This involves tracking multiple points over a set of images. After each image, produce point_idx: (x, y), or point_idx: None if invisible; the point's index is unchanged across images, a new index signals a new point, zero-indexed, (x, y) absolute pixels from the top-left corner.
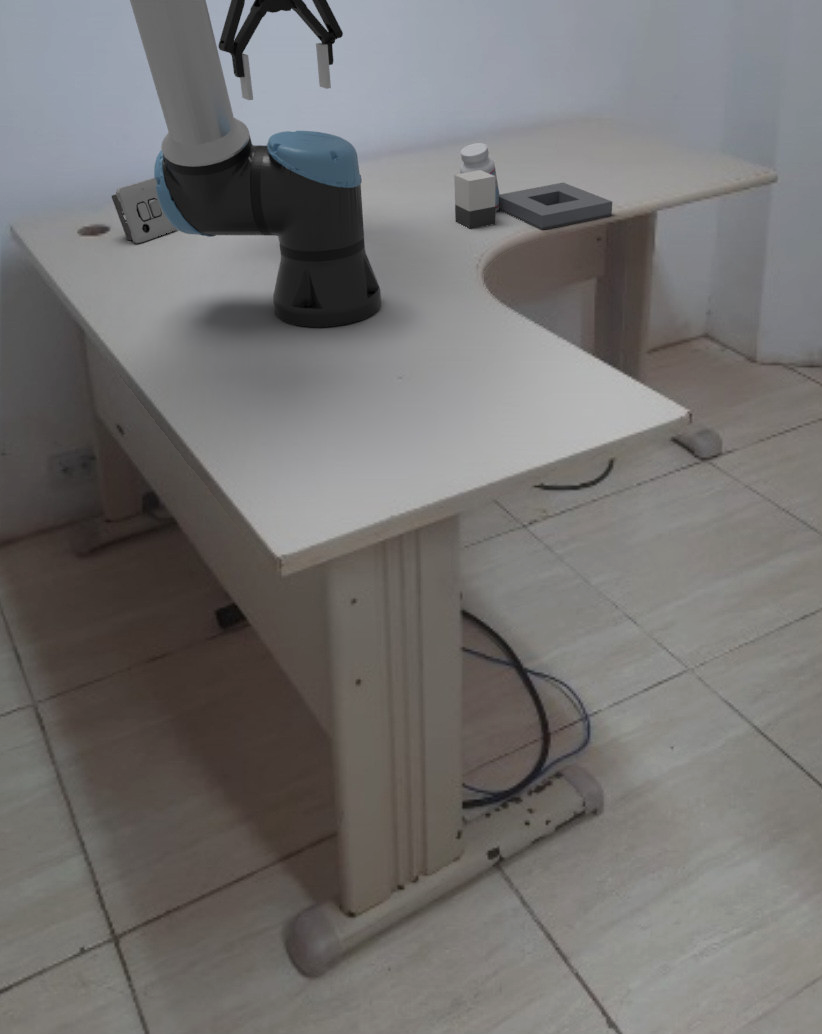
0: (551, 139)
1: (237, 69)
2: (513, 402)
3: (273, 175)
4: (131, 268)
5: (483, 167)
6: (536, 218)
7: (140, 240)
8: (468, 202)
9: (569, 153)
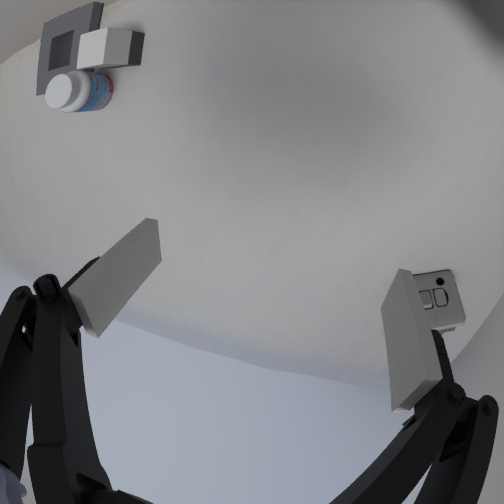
0: (21, 239)
1: (443, 350)
2: None
3: None
4: (497, 211)
5: (71, 72)
6: (96, 11)
7: (447, 271)
8: (125, 31)
9: (17, 200)
